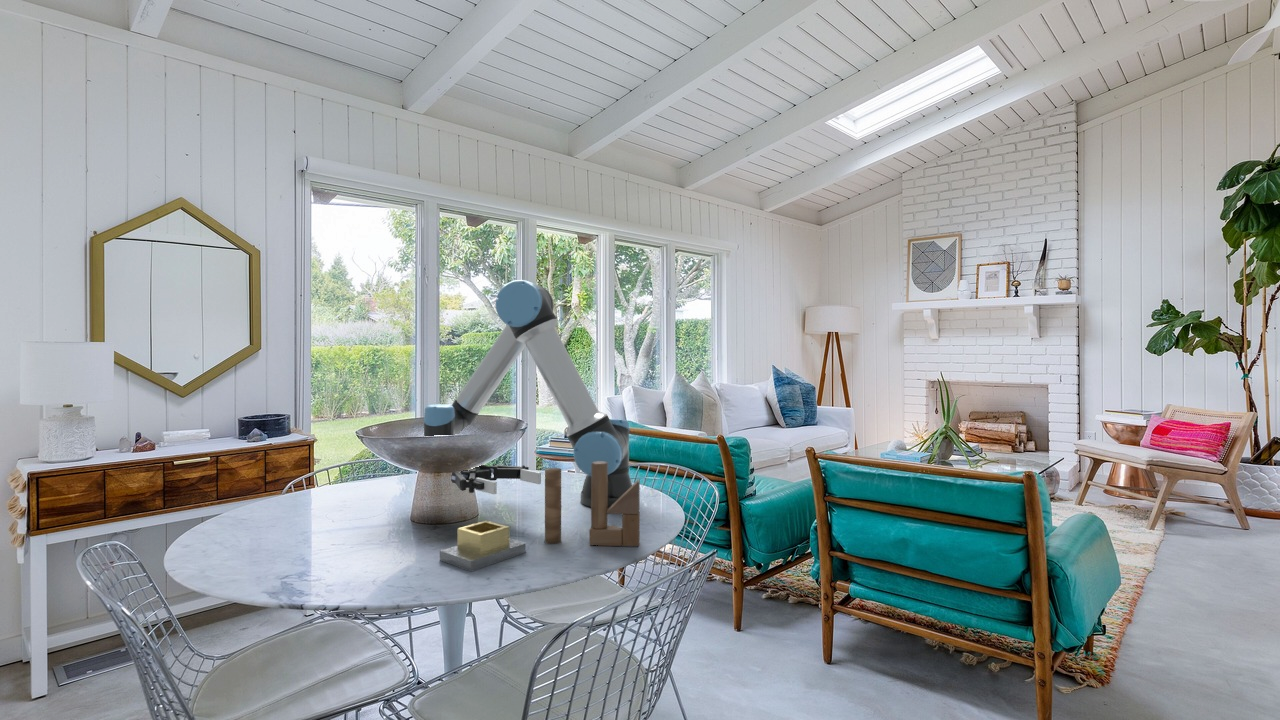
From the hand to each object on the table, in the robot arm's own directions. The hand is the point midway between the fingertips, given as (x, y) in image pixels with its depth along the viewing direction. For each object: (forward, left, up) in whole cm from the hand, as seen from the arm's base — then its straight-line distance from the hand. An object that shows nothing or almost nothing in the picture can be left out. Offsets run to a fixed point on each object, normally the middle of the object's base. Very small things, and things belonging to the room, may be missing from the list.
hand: (518, 483), depth 148 cm
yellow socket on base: (+16, +7, -11) cm, 21 cm away
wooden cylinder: (0, +11, -11) cm, 16 cm away
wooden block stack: (-7, +23, -12) cm, 27 cm away
